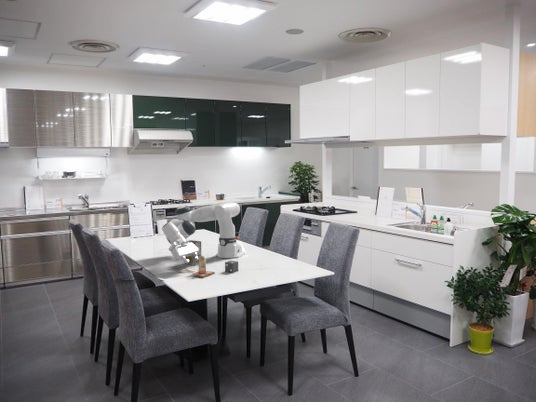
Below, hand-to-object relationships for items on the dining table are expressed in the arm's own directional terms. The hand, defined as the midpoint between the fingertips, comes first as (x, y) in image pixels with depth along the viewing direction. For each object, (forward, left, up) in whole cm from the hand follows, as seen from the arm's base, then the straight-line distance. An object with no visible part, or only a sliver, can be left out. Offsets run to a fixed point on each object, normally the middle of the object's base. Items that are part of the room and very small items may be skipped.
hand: (192, 261), depth 279 cm
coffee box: (-17, -13, -8) cm, 23 cm away
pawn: (0, +7, -7) cm, 10 cm away
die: (-16, +18, -8) cm, 26 cm away
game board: (0, -3, -8) cm, 9 cm away
